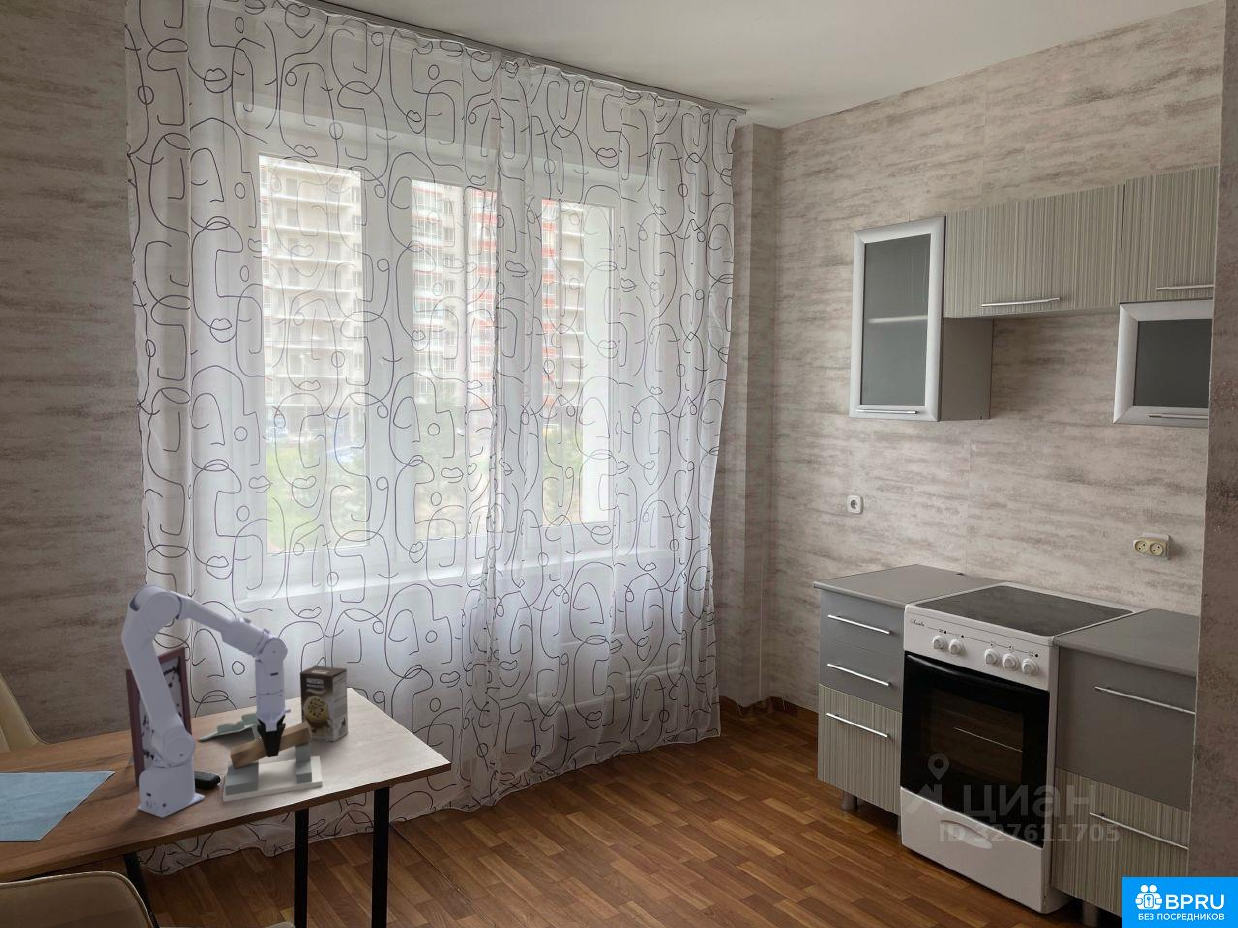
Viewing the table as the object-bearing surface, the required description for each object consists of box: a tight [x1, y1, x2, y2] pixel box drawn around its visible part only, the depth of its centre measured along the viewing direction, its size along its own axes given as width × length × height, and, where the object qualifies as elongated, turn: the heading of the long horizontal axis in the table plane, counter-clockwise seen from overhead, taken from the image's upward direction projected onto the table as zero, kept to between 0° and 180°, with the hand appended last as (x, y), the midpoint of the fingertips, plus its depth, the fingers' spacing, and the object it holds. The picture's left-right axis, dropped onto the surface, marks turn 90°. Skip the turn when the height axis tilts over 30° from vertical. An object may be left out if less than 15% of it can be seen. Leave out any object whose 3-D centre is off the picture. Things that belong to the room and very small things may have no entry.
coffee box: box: [299, 665, 349, 742], centre depth 210 cm, size 9×6×16 cm
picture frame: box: [125, 646, 193, 786], centre depth 193 cm, size 17×10×25 cm, turn 168°
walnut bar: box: [229, 721, 313, 769], centre depth 189 cm, size 16×4×3 cm, turn 111°
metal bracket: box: [197, 712, 261, 742], centre depth 213 cm, size 14×6×15 cm
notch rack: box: [222, 740, 323, 803], centre depth 187 cm, size 19×14×6 cm
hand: (272, 751), depth 189 cm, fingers closed on walnut bar, 4 cm apart
